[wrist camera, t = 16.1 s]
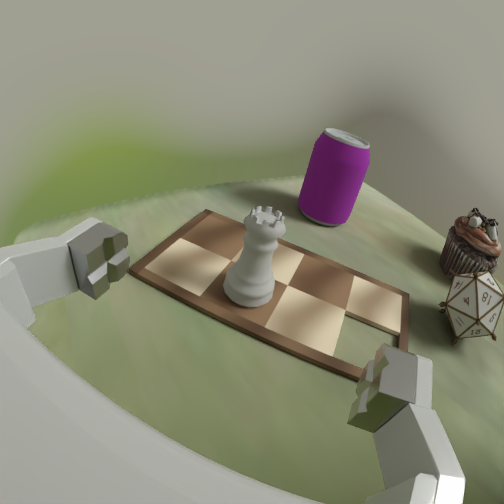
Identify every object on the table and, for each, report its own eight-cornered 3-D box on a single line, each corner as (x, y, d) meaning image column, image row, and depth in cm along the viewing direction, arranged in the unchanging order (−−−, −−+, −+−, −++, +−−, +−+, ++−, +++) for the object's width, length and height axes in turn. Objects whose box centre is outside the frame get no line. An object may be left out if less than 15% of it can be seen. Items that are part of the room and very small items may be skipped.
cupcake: (436, 277, 37) (471, 216, 31) (433, 246, 45) (459, 193, 39) (486, 303, 35) (523, 248, 29) (477, 269, 42) (505, 220, 36)
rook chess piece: (277, 285, 29) (302, 211, 24) (263, 318, 26) (289, 238, 21) (233, 268, 30) (249, 193, 25) (214, 298, 26) (228, 216, 22)
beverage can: (312, 196, 48) (334, 125, 41) (353, 219, 45) (381, 146, 38) (285, 208, 43) (308, 126, 36) (332, 235, 40) (364, 150, 33)
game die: (428, 353, 31) (424, 296, 26) (448, 300, 35) (445, 240, 30) (495, 368, 24) (510, 310, 19) (508, 309, 28) (517, 247, 23)
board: (407, 297, 32) (409, 293, 32) (400, 397, 21) (404, 394, 21) (205, 212, 38) (206, 209, 38) (129, 273, 27) (129, 268, 27)
